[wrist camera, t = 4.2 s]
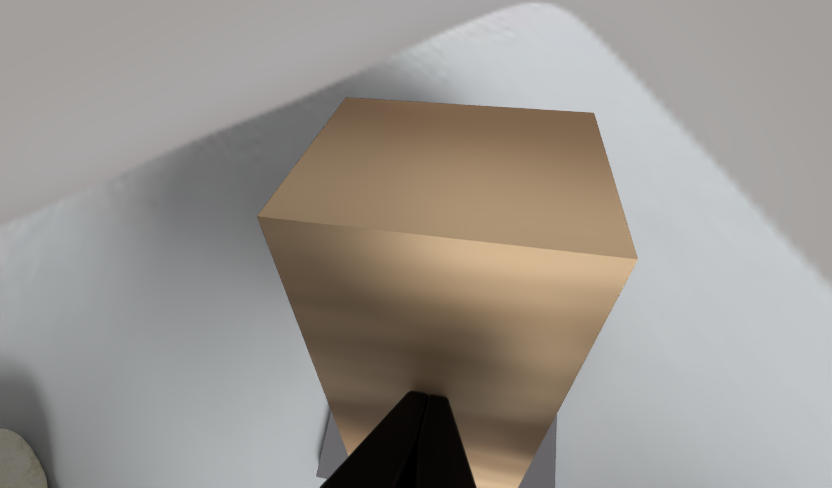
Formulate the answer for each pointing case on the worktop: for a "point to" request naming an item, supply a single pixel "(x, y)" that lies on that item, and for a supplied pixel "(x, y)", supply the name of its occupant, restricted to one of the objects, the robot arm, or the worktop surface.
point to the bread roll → (19, 463)
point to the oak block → (452, 265)
